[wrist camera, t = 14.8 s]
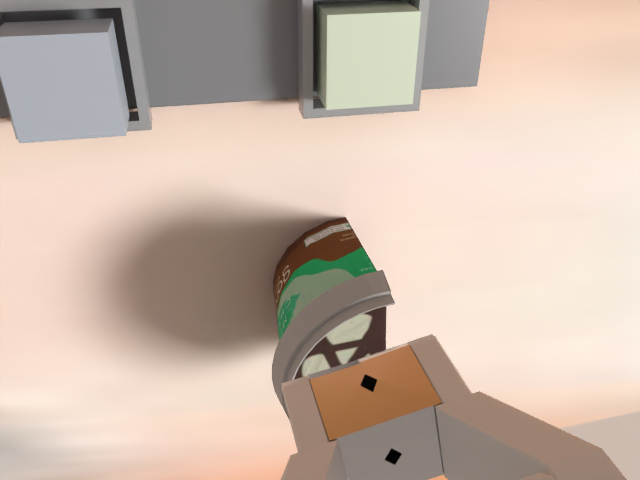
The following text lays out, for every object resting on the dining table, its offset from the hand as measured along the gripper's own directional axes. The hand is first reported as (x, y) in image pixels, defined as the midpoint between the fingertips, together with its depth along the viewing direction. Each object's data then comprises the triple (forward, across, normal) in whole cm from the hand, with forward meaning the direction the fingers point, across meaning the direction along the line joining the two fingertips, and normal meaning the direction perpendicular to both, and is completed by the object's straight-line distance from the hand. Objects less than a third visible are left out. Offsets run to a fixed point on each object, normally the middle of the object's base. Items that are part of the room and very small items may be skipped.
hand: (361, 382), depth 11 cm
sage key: (+23, -7, +1) cm, 24 cm away
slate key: (+22, +7, -2) cm, 23 cm away
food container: (+24, -1, +15) cm, 29 cm away
